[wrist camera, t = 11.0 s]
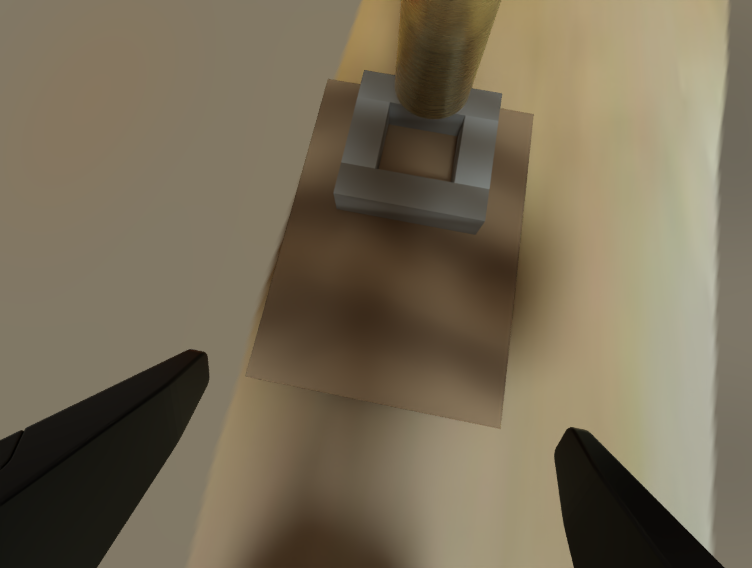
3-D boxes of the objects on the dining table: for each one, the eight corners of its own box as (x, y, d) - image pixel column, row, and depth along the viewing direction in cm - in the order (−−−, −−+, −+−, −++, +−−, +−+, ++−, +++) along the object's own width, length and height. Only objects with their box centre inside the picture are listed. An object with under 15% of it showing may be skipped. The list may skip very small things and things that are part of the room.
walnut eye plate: (494, 426, 21) (514, 433, 18) (250, 376, 21) (231, 375, 19) (527, 124, 26) (547, 91, 23) (329, 89, 26) (324, 53, 24)
